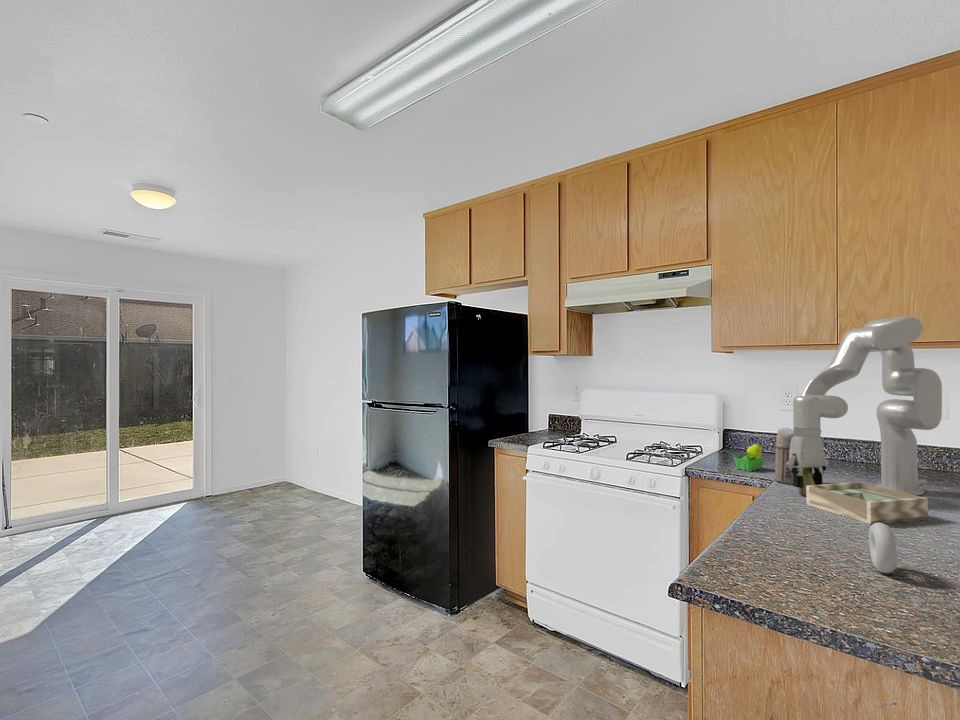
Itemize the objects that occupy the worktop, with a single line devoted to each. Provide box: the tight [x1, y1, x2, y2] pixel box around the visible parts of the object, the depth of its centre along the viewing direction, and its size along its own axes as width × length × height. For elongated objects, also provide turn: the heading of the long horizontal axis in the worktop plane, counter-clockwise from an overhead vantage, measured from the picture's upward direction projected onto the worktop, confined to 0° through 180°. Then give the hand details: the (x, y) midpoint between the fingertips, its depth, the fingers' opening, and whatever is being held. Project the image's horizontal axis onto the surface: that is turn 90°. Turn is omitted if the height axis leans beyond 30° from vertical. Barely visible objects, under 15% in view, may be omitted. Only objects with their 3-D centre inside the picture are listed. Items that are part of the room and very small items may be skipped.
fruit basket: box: [733, 443, 766, 472], centre depth 206 cm, size 11×9×11 cm
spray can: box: [774, 427, 799, 485], centre depth 183 cm, size 8×8×20 cm
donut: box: [868, 523, 898, 574], centre depth 102 cm, size 10×4×10 cm, turn 151°
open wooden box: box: [805, 481, 929, 525], centre depth 144 cm, size 20×20×6 cm
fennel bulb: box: [798, 468, 815, 497], centre depth 163 cm, size 6×5×12 cm
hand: (807, 486), depth 163 cm, fingers open, 7 cm apart
